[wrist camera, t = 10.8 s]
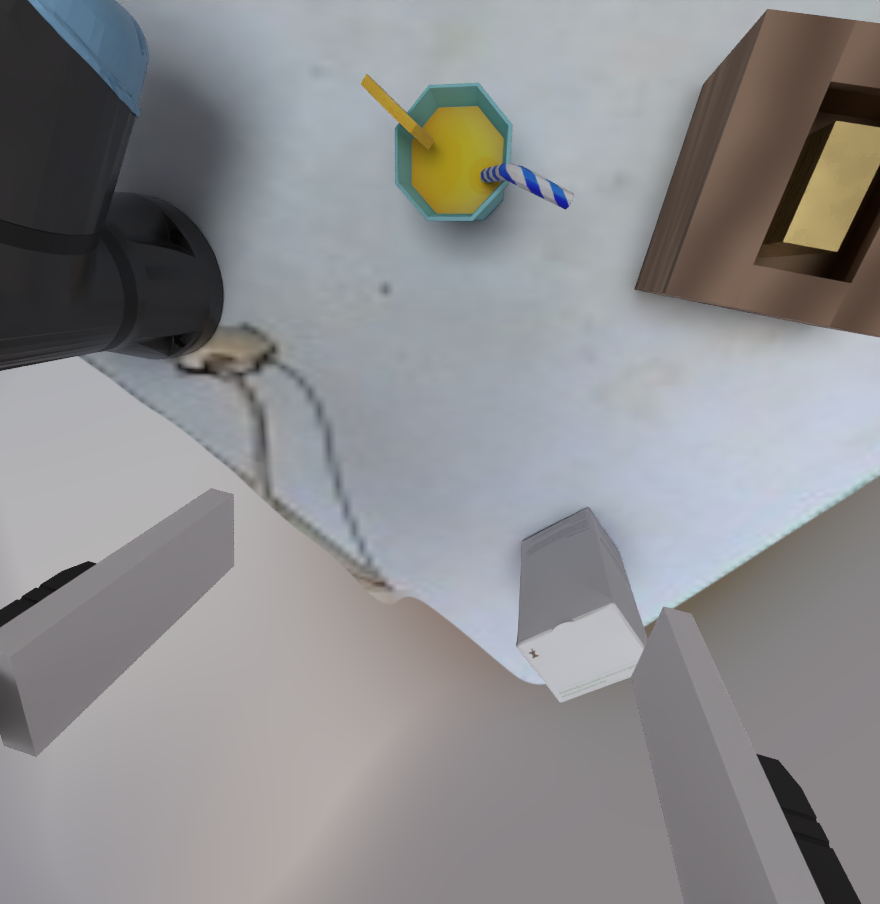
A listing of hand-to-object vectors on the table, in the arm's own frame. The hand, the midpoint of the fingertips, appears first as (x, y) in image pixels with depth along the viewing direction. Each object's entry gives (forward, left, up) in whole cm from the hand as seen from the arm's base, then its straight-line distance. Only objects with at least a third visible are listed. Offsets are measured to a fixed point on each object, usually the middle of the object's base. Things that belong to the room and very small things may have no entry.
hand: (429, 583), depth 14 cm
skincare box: (+11, -16, -32) cm, 37 cm away
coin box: (+16, +16, -31) cm, 39 cm away
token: (+16, +16, -31) cm, 38 cm away
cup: (-5, +14, -32) cm, 35 cm away
